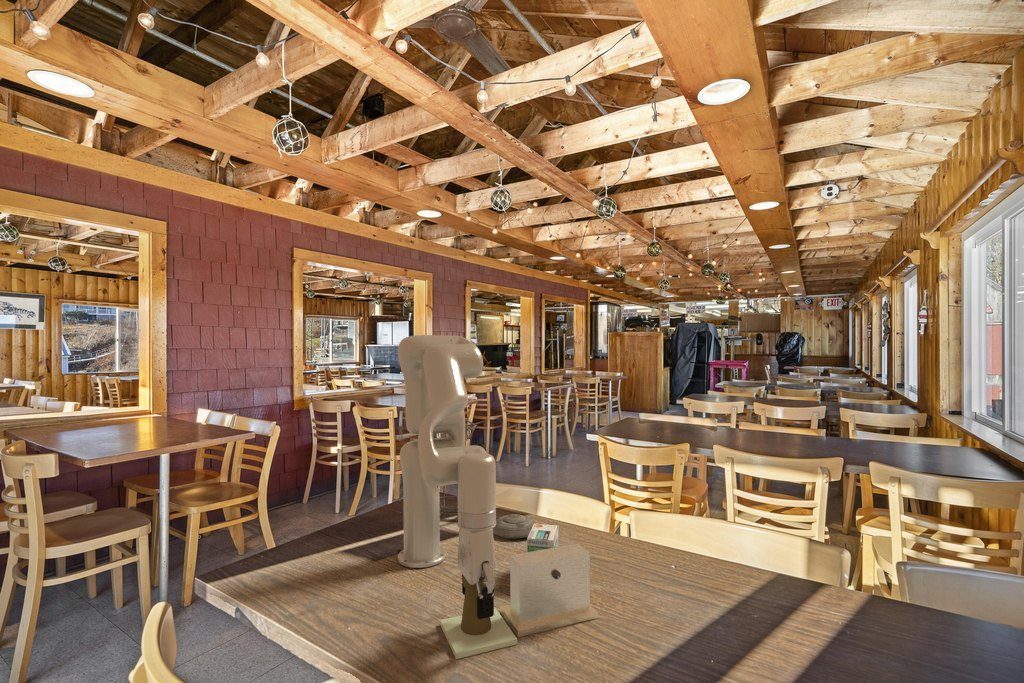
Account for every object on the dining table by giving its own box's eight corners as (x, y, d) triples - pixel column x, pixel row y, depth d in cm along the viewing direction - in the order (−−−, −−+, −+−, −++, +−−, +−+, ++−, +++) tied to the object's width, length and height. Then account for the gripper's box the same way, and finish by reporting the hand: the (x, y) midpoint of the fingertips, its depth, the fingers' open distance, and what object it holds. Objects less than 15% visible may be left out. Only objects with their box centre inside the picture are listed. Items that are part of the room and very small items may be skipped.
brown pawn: (461, 618, 101) (461, 564, 101) (491, 617, 102) (490, 563, 102) (460, 636, 95) (460, 578, 95) (491, 634, 95) (491, 577, 96)
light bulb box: (554, 586, 117) (554, 540, 117) (526, 583, 118) (526, 538, 118) (559, 566, 127) (559, 524, 127) (533, 564, 129) (533, 522, 129)
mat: (440, 624, 101) (440, 619, 101) (495, 612, 105) (495, 608, 105) (456, 659, 90) (456, 653, 90) (517, 644, 94) (517, 638, 94)
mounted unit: (500, 611, 106) (499, 549, 106) (574, 595, 112) (574, 537, 112) (518, 637, 96) (517, 569, 96) (597, 617, 103) (597, 554, 103)
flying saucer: (539, 542, 143) (539, 523, 143) (488, 542, 144) (487, 523, 144) (538, 524, 158) (538, 507, 158) (491, 524, 159) (491, 506, 159)
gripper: (447, 506, 104) (447, 588, 104) (471, 535, 88) (472, 632, 88) (481, 502, 107) (481, 581, 107) (510, 529, 91) (511, 623, 91)
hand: (477, 604), depth 97 cm, fingers open, 9 cm apart
